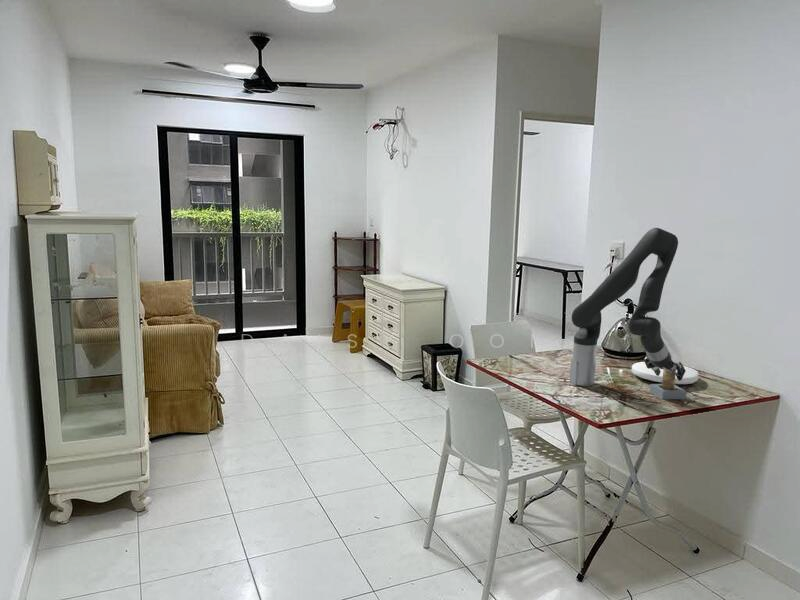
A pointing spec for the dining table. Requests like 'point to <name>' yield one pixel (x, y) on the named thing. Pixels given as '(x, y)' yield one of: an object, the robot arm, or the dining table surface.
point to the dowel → (668, 380)
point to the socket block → (668, 392)
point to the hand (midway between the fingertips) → (669, 376)
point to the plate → (649, 374)
